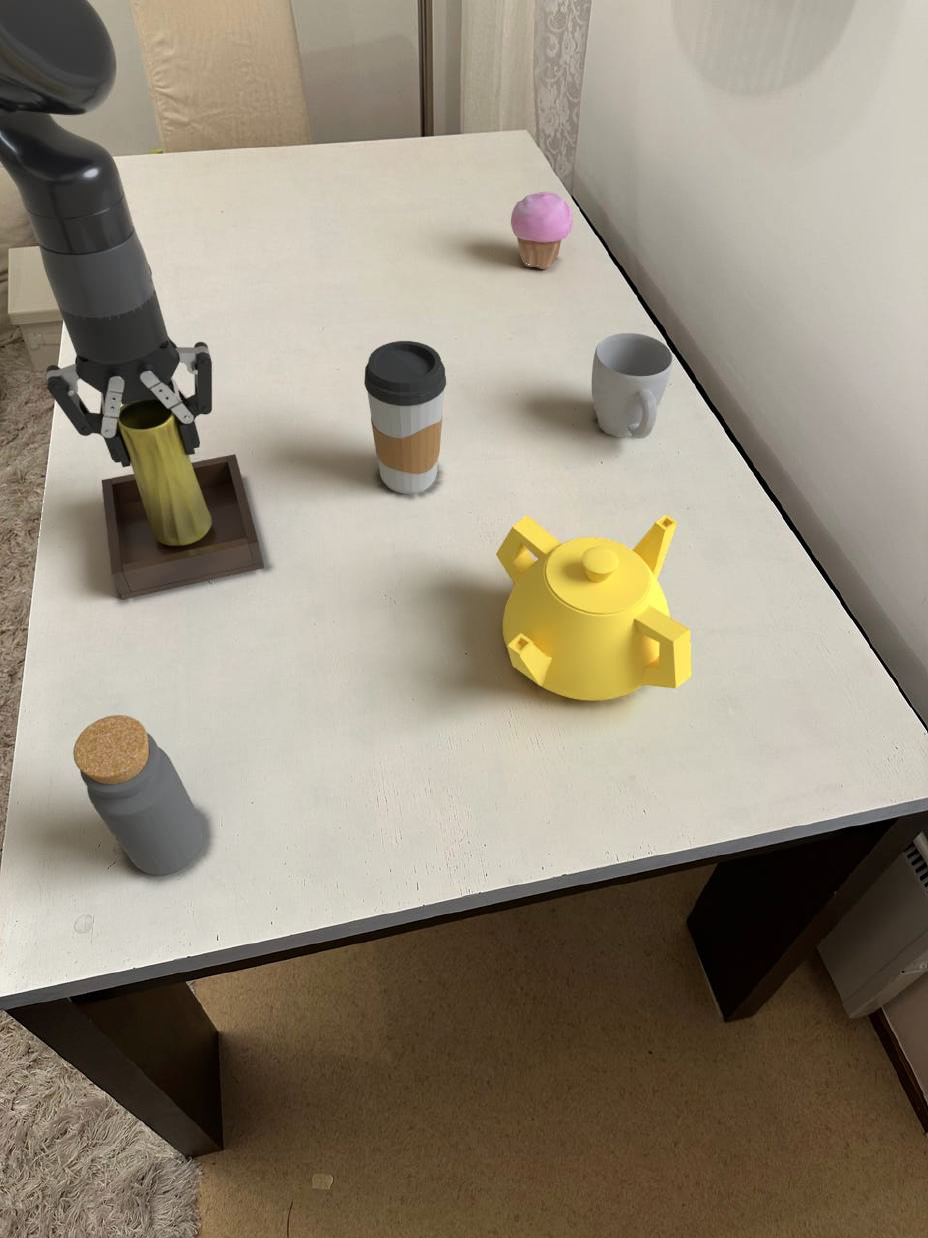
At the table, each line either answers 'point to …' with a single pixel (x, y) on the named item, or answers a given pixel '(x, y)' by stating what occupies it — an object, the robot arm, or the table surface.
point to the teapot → (592, 613)
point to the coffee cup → (406, 413)
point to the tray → (164, 567)
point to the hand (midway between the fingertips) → (158, 454)
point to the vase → (163, 473)
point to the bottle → (139, 795)
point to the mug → (629, 383)
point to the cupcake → (541, 227)
